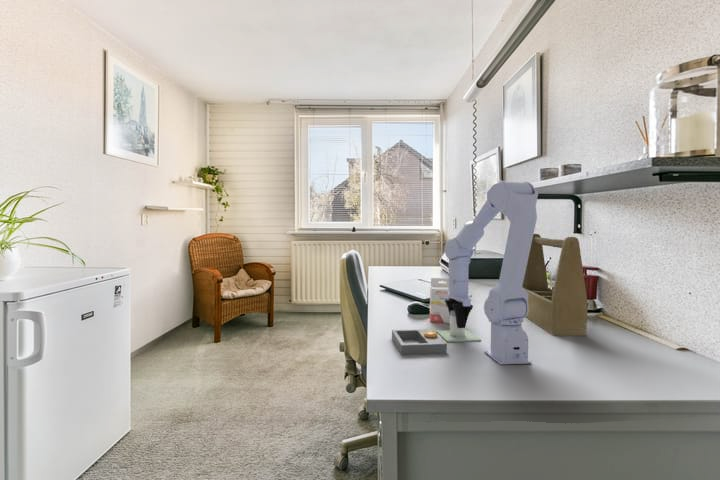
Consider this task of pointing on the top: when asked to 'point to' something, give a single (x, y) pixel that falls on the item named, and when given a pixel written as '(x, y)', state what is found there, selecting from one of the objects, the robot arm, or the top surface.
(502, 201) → the robot arm
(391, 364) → the top surface
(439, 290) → the ink cartridge box
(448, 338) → the mat
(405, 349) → the dock
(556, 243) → the caddy
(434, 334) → the plunger
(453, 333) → the cylinder
